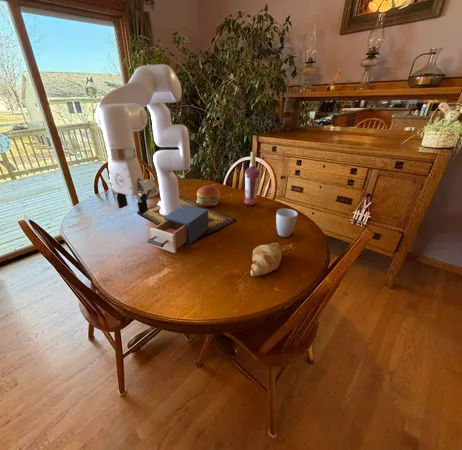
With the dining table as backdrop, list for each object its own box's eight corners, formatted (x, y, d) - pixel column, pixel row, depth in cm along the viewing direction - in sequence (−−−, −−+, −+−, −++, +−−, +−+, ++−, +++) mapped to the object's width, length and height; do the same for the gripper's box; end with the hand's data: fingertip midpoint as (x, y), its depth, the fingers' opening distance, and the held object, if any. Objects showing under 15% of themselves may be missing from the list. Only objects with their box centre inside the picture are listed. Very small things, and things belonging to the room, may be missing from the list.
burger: (202, 210, 125) (201, 192, 121) (193, 201, 136) (191, 185, 132) (224, 205, 130) (224, 188, 125) (213, 197, 141) (213, 181, 136)
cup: (294, 230, 103) (297, 209, 98) (293, 240, 96) (297, 218, 92) (274, 228, 106) (277, 207, 101) (273, 237, 99) (275, 215, 94)
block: (163, 241, 95) (162, 232, 93) (170, 237, 99) (169, 227, 96) (171, 244, 93) (170, 235, 91) (178, 239, 96) (177, 230, 94)
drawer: (167, 259, 87) (164, 241, 83) (145, 250, 92) (141, 233, 89) (194, 237, 100) (193, 220, 96) (173, 230, 105) (171, 215, 102)
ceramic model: (149, 199, 142) (147, 183, 137) (134, 197, 146) (131, 181, 141) (162, 191, 153) (160, 176, 148) (148, 189, 157) (146, 175, 152)
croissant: (259, 290, 77) (272, 278, 71) (236, 269, 79) (246, 256, 74) (283, 257, 91) (295, 244, 86) (262, 240, 94) (273, 227, 88)
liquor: (258, 206, 127) (262, 153, 113) (244, 207, 127) (246, 153, 114) (255, 201, 133) (259, 150, 120) (242, 201, 133) (244, 150, 120)
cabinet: (190, 244, 97) (188, 223, 92) (166, 236, 103) (163, 216, 98) (208, 228, 107) (208, 209, 103) (186, 222, 114) (184, 204, 109)
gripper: (91, 154, 68) (105, 208, 76) (133, 159, 60) (144, 220, 68) (113, 149, 74) (124, 200, 82) (154, 153, 65) (161, 210, 73)
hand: (133, 209), depth 75 cm, fingers open, 8 cm apart
